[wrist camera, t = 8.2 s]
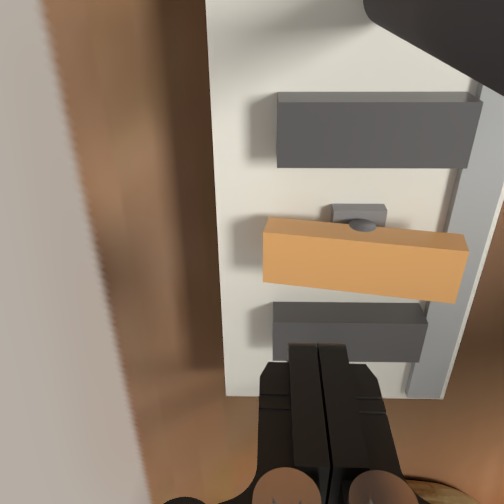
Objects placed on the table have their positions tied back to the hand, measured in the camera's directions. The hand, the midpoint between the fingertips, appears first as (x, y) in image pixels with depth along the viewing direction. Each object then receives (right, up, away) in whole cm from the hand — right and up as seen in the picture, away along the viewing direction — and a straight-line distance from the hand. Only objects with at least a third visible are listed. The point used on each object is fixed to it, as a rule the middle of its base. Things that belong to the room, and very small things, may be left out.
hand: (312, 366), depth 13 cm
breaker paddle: (+2, +3, +5) cm, 7 cm away
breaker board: (+3, +5, +9) cm, 11 cm away
